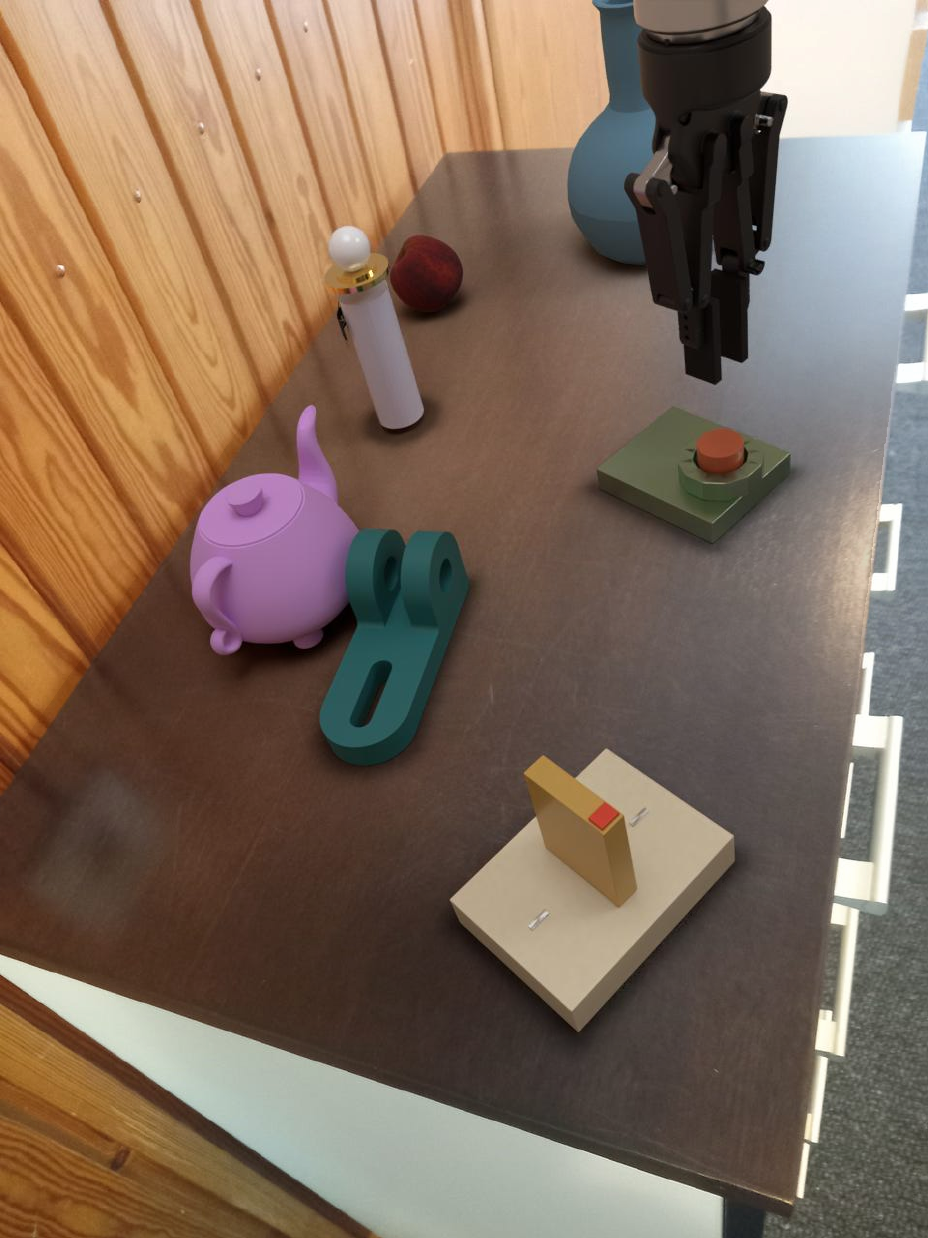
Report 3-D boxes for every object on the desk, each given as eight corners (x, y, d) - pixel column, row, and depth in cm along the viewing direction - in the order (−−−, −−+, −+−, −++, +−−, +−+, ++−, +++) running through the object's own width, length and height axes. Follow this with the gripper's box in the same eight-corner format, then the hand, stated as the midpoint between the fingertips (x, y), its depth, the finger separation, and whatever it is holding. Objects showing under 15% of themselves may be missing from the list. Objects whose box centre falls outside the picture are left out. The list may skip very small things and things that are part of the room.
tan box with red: (544, 847, 62) (521, 770, 56) (563, 829, 63) (542, 751, 57) (619, 908, 59) (603, 833, 53) (638, 889, 59) (623, 812, 53)
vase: (757, 216, 113) (755, -41, 95) (671, 294, 106) (652, 32, 88) (631, 195, 122) (608, -43, 104) (546, 265, 115) (505, 23, 97)
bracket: (393, 580, 86) (367, 510, 80) (469, 585, 83) (448, 513, 78) (315, 760, 75) (278, 692, 69) (401, 770, 72) (370, 702, 67)
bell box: (793, 474, 84) (794, 435, 81) (715, 545, 81) (713, 507, 78) (674, 425, 91) (671, 388, 89) (599, 488, 88) (593, 451, 85)
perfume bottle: (436, 399, 102) (382, 207, 88) (426, 436, 98) (368, 241, 84) (381, 404, 103) (319, 216, 89) (369, 441, 100) (302, 250, 85)
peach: (413, 288, 118) (395, 222, 112) (477, 285, 115) (462, 218, 110) (393, 325, 113) (373, 258, 108) (459, 323, 111) (443, 254, 105)
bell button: (753, 455, 81) (753, 437, 80) (724, 480, 80) (724, 463, 79) (716, 440, 83) (715, 422, 82) (688, 464, 82) (686, 447, 81)
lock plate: (611, 773, 68) (605, 746, 66) (735, 861, 62) (734, 834, 60) (459, 922, 64) (448, 898, 61) (578, 1033, 57) (570, 1010, 55)
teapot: (292, 506, 95) (243, 394, 86) (426, 527, 89) (388, 409, 80) (169, 668, 84) (98, 559, 75) (312, 705, 78) (254, 591, 69)
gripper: (666, 81, 54) (690, 440, 70) (841, -32, 59) (824, 326, 76) (562, 65, 58) (607, 405, 75) (733, -39, 64) (740, 300, 80)
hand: (716, 365), depth 75 cm, fingers open, 2 cm apart
